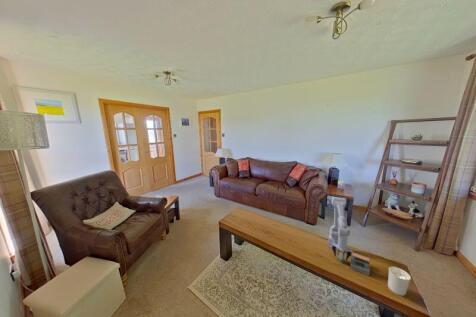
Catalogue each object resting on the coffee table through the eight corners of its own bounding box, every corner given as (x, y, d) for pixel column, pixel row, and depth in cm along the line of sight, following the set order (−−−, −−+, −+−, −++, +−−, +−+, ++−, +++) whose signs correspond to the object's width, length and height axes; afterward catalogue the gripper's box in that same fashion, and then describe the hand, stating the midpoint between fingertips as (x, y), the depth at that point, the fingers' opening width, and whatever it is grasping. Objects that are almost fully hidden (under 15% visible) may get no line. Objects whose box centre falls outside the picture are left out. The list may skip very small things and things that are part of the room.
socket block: (350, 268, 119) (350, 261, 118) (350, 258, 129) (351, 251, 128) (369, 276, 113) (370, 269, 112) (368, 264, 122) (369, 258, 121)
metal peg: (337, 260, 126) (338, 251, 125) (337, 257, 129) (338, 248, 128) (343, 263, 124) (344, 253, 123) (343, 259, 127) (344, 250, 126)
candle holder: (383, 280, 109) (385, 264, 108) (402, 285, 106) (405, 269, 104) (390, 293, 100) (393, 276, 99) (411, 299, 97) (414, 282, 95)
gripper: (330, 240, 125) (329, 256, 127) (353, 248, 117) (351, 265, 119) (332, 236, 131) (330, 251, 133) (354, 243, 122) (352, 259, 124)
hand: (340, 257), depth 126 cm, fingers open, 7 cm apart
